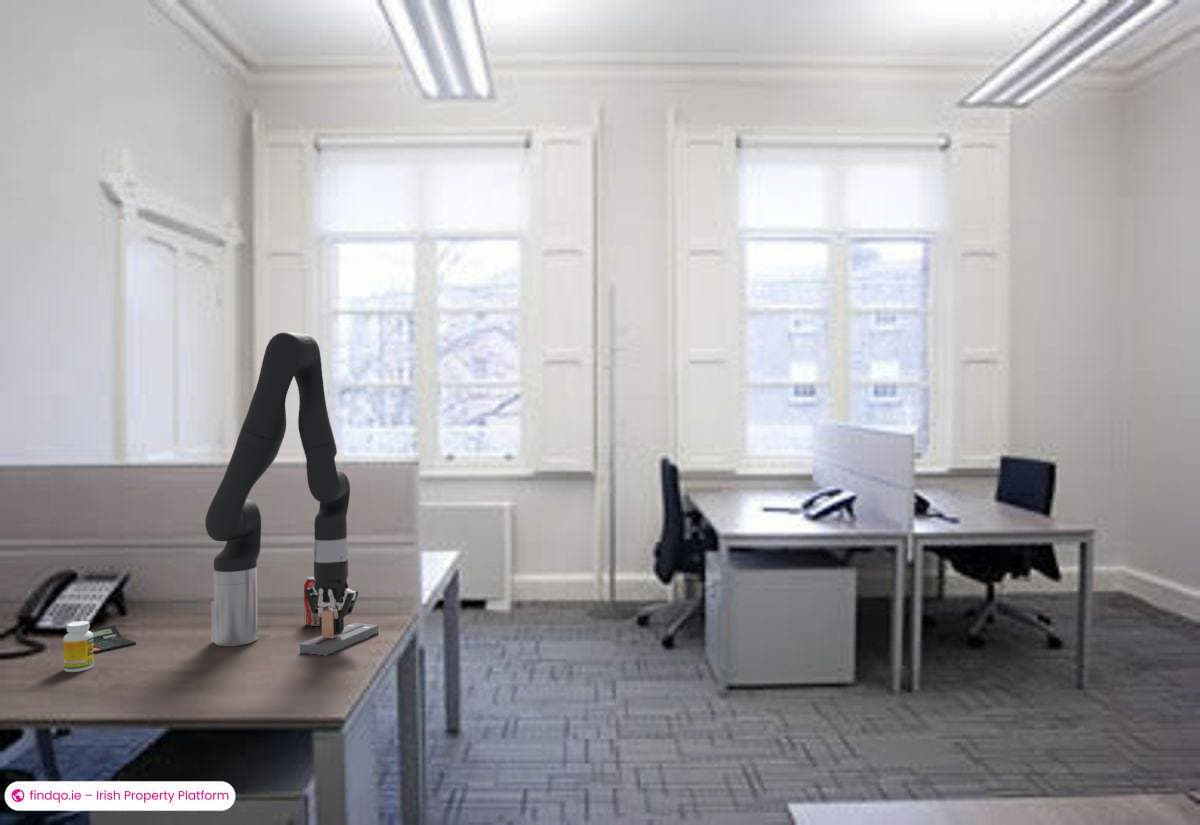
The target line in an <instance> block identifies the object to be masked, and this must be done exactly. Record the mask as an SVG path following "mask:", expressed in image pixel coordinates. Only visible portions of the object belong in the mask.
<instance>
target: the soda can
mask: <svg viewBox="0 0 1200 825" xmlns="http://www.w3.org/2000/svg"><path fill="white" fill-rule="evenodd" d="M315 582H316V580H315V579H314V574H312V575H308V576H306V580H305V582H304V584H303V616H304V622H305V624H306V625H308V626H309V625H311V626H310V627H312V626H320V623H319V616H318V615H317V614H316V613H314V614H313V613H312V611H311V608H310V605H309V602H308V600H307V597H306V594H305V589H307V588H311V587H314V585H315ZM318 596H319V595H318ZM315 606H316V604H315ZM330 608H331V605H330Z"/></svg>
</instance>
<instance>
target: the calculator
mask: <svg viewBox="0 0 1200 825" xmlns="http://www.w3.org/2000/svg"><path fill="white" fill-rule="evenodd" d="M88 631H91V632H92V633H93V655H97V654H101V653H104V652H109V651H114V650H117V649H124V648H127V647H133V646H135V645H137V641H133V640H131V639H128V638H126V637H123V636H122V635H121V633H120V632H119V630H118V629H117V627H116V626H115V624H114V625H109V626H105V627H99V628H96V629H88Z"/></svg>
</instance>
